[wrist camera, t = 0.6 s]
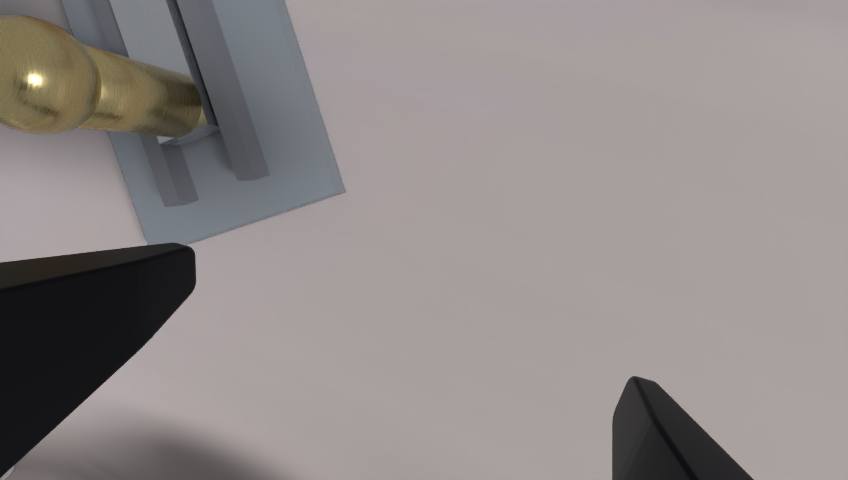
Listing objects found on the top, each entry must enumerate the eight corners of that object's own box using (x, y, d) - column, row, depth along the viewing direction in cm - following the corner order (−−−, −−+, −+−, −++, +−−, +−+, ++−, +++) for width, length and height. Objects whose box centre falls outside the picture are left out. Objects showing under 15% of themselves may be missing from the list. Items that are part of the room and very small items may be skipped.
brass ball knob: (238, 133, 24) (38, 104, 14) (177, 157, 25) (-52, 145, 15) (178, -47, 24) (-78, -212, 14) (117, -15, 25) (-163, -147, 14)
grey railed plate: (345, 192, 25) (306, 195, 21) (170, 250, 28) (101, 265, 24) (220, -198, 24) (148, -287, 19) (48, -95, 27) (-51, -152, 22)
